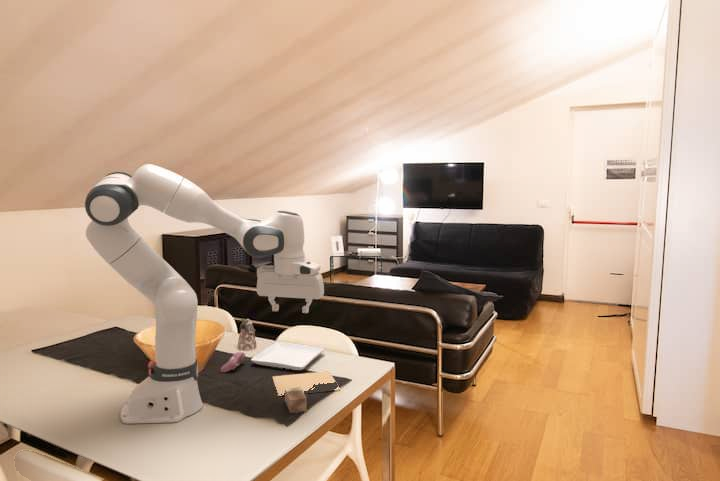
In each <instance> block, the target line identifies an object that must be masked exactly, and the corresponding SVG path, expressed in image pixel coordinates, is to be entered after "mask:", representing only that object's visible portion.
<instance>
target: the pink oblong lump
mask: <svg viewBox="0 0 720 481" xmlns="http://www.w3.org/2000/svg"><path fill="white" fill-rule="evenodd" d="M245 356H246V353H244V352H242V351H241V350H240V351H239V352H234V353H233V354H232V356H231V357H230V358H229V360H228V361H227V362H226V363H225V364H223V365H222V366H221V367H220V371H221V373H227V372H230V371H234V370H235V369H236V368H238V367H239V366H240V365H241V362H242V361H244V358H245Z"/></svg>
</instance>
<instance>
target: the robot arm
mask: <svg viewBox="0 0 720 481" xmlns="http://www.w3.org/2000/svg"><path fill="white" fill-rule="evenodd" d="M140 206H148V207H150V208H153V209H155V210H157V211H159V212H160V213H162V214H165V215H167V216H169V217H171V218H173V219H176V220H178V221H182V222H185V223H191V224H192V223H199V224H200V223H202V224H206V225H209V226H212V227H213V228H215V229H217V230H219V231H221V232H223V233H225V234H226V235H229V236H231V237H232V238H234V239H235V240H236V241H237V243H238V245H239V246H241V248H242V249H244V251H245V252H246V253H247V254H248V255H250V256H251V257H254V258H265V257H268V256H273V257H274V258H273V259H274V261H273V262H274V263H273V265H272V264H261V265H260V266H258V267H257V269H256V277H257V282H256V294H257V295H258V296H259V297H268V298H267V299H268V301H269V303H270V305H271V311H272V312H279V309H280V305H279V304H278V303H276V301H275V299H276V297H277V298H289V299H305V302H306V305H303V306H302V307H301V311H302V313H303V314H308V313H309V311H310V306H311V304H312V302H313V300H319V299H321V298H322V297H323V296H324V294H325V285H324V283H325V282H324V279H323V278H324V277H323V276H322V274H321V272H320V271H321V264H319V263H316V262H315V261H311V260H308V259H306V258H305V252H304V245H305V228H304V221H303V217H302V216H300V214H299V213H296V212H292V211H286V210H277V211H275V213H274V214H272V215H271V216H269V217H267V218H266V219H263V220H260V219H252V218H250V219H249V218H244V217H241V216H240V215H238V214H236V213H234V212H232V211H230V210H228V209H226V208H224V207H222V206H221V205H219V204H218V203H217V202H215V201H214V200H213V199H212V198H211V197H210V196H209V195H208V193H207V192H205V190H204V189H202V188H201V187H200V186H198V185H197V184H195V183H194V182H192V181H190V179H187V178H186V177H184V176H182V175H180V174H178V173H176V172H174V171H171V170H169V169H166V168H165V167H162V166H158V165H156V164H152V163H146V164H143V165H142V166H140V167H138V168H137V169H136V170H135V171H134V173H133V175H131V174H130V173H127V172H125V171H124V172H123V171H114V172H111V173H108V174H105V176H104V177H102V178H101V179H99V180H98V181H97V182H96V183H95V184H94V185H93V186H92V189H90V190H89V191H88V193H87V194H86V196H85V201H84V207H85V208H84V209H85V211H86V214H87V216H88V217H89V219H91V221H90V222H89V223H88V225H87V227H86V230H85V237H86V239H87V240H88V242H89V244H90V245H91V246H92V247H93V249H94V250H95V252H96V253H97V254H98V255H99V256H100V257H101V258H102V259H103V260H104V261H105V263H107V264H108V265H109V266H110V267H111V268H112V269H113V270H114V271H115V272H117V273H118V275H119V276H120V277H121V278H122V279H124V280H125V281H126V282H127V283H128V284H129V285H130V286H132V287H133V288H134V289H136V290H137V291H138V292H140V293H141V294H142V295H143V296H144V297H145V298H146V299H148V301H150V303H152V305H153V306H154V308H155V335H154V336H155V337H154V343H155V344H154V346H155V360H150V361H149V362H148V364H147V367H148V376H147V377H146V378H145V379H144V380H142V381H141V382H140V383H139V384H137V385H136V386H134V388H133V389H132V391H131V392H130V395H129V399H128V402H126V403H125V404H124V405H123V407H122V408H121V409H120V415H119V418H120V421H121V422H122V423H123V424H128V425H129V424H130V425H131V424H158V423H159V424H161V423H163V424H164V423H179V422H181V421H183V419H185V418H187V417H188V416H191V415H193V414H196V413H197V412H198V411H200V410H201V409H202V407H203V404H204V403H203V401H202V398H201V394H200V390H199V385H198V384H199V383H198V378H199V364H198V359H197V358H196V330H197V322H198V321H197V320H198V318H197V317H198V304H199V303H198V302H199V301H198V297H197V296H198V295H197V293H196V292H195V290H194V289H193V288H192V286H191V285H190V284H189V283H188V282H187V280H186V279H184V278H183V277H182V275H180V273H178V272H177V271H176V270H175V269H174V268H173V266H171V265H170V264H169V263H168V261H166V260H165V259H164V258H163V257H162V256H161V254H159V253H158V252H157V251H156V250H155V248H153V247H152V246H151V245H150V244H149V243H148V242H147V241H146V239H144V238H143V237H142V236H141V235H140V234H139V233H138V232H137V231H136V230H135V229H134V228H133V227H132V226H131V224H130V222H129V217H130V216H131V215H132V214H133V213H135V211H137V210H138V208H139V207H140Z"/></svg>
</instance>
